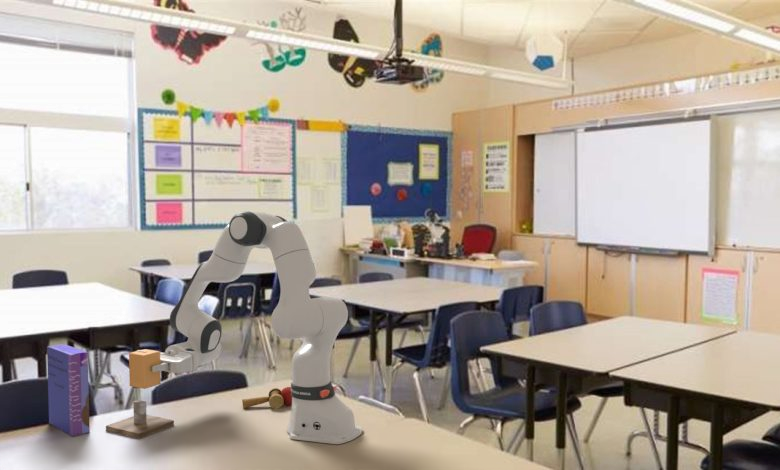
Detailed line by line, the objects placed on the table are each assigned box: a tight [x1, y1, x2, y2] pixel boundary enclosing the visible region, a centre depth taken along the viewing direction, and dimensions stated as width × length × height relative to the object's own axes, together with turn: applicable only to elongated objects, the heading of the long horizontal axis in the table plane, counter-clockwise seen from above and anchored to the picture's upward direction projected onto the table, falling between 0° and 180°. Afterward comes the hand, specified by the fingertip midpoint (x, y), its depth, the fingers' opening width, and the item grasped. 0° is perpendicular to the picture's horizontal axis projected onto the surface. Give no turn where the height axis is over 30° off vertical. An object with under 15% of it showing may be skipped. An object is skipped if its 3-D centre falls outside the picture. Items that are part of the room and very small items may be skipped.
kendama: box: [241, 386, 292, 409], centre depth 217 cm, size 8×6×18 cm
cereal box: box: [46, 343, 91, 437], centre depth 195 cm, size 17×5×24 cm, turn 48°
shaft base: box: [105, 399, 175, 440], centre depth 195 cm, size 14×13×8 cm
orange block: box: [128, 348, 162, 390], centre depth 197 cm, size 6×6×10 cm
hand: (142, 367), depth 196 cm, fingers closed on orange block, 6 cm apart
